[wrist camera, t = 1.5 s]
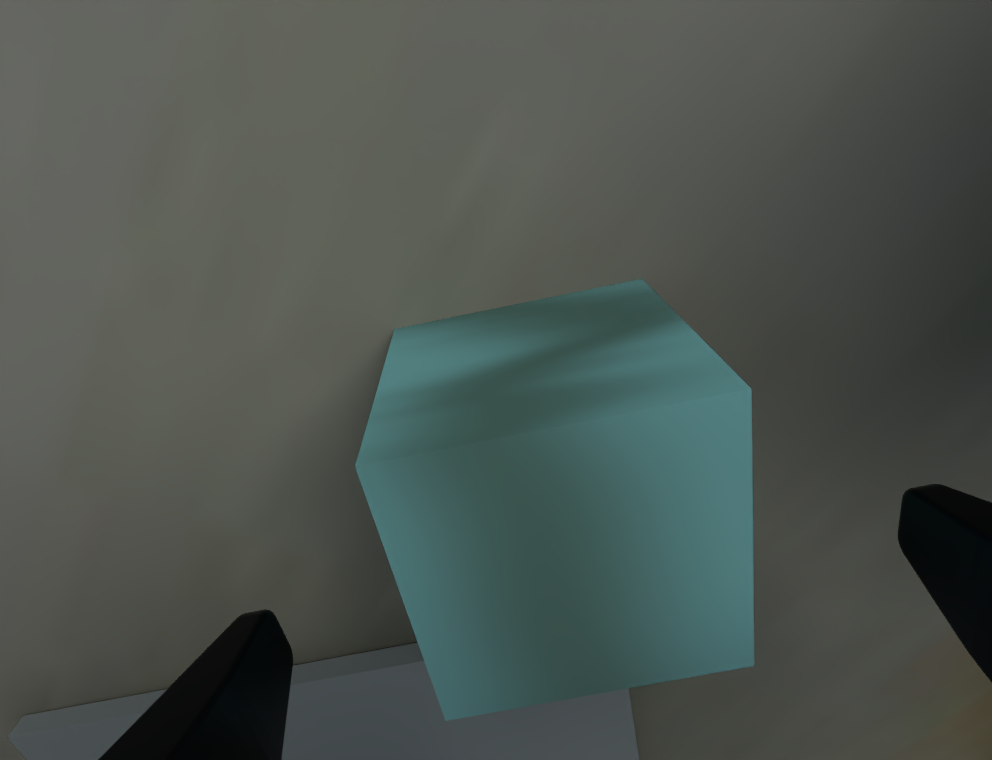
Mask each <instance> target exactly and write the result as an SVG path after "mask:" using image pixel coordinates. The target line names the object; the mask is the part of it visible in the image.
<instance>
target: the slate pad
mask: <svg viewBox="0 0 992 760" xmlns="http://www.w3.org/2000/svg"><path fill="white" fill-rule="evenodd" d="M166 690H167V689H165V690H159V691H154V692H149V693H143V694H138V695H132V696H127V697H122V698H116V699H111V700H105V701H100V702H95V703H89V704H84V705H79V706H73V707H68V708H62V709H57V710H52V711H46V712H41V713H35V714H30V715H25V716H22V717H21V719H20V720H19V722H18V723H17V724H16V726H15V727H14V729H13V730H12V731H11V733H10V734H9V736H8V737H7V738H8V739H9V740H10V742H11V743H12V744H13V745H14V746H15V747H16V748H17V750H18V751H19V752H20V753H21V754H22V755H23V757H24V758H25V759H26V760H98V759H99V758H100V757H101V756H102V755H103V754H104V753H105V752H106V751H107V750H108V749H109V748H110V747H111V746H112V745H113V744H114V743H115V742H116V741H117V740H118V739H119V738H120V737H121V736H122V735H123V734H124V733H125V732H126V731H127V730H128V729H129V728H130V727H131V726H132V725H133V724H134V722H135V721H136V720H137V719H138V718H139V717H140V716H141V715H142V714H143V713H144V712H145V711H146V710H147V709H148V708H149V707H150V706H151V705H152V704H153V703H154V702H155V701H156V700H157V699H158V698H159V697H160V696H161V695H162V694H163V693H164V692H165V691H166ZM282 760H639V754H638V747H637V741H636V734H635V727H634V720H633V713H632V706H631V700H630V693H629V688H627V689H622V690H616V691H611V692H605V693H599V694H594V695H588V696H583V697H577V698H571V699H566V700H560V701H555V702H549V703H544V704H538V705H532V706H527V707H521V708H516V709H510V710H504V711H499V712H493V713H488V714H482V715H476V716H471V717H465V718H460V719H454V720H449V721H445V718H444V715H443V712H442V709H441V707H440V704H439V701H438V698H437V695H436V693H435V690H434V687H433V684H432V681H431V678H430V676H429V673H428V670H427V667H426V664H425V662H424V659H423V656H422V653H421V650H420V648H419V645H418V643H413V644H407V645H402V646H397V647H391V648H386V649H380V650H375V651H370V652H364V653H359V654H353V655H348V656H343V657H337V658H332V659H326V660H321V661H316V662H310V663H305V664H300V665H294V666H293V669H292V677H291V686H290V694H289V702H288V711H287V719H286V727H285V736H284V744H283V752H282Z"/></svg>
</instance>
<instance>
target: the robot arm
mask: <svg viewBox="0 0 992 760" xmlns="http://www.w3.org/2000/svg"><path fill="white" fill-rule="evenodd" d="M898 541H899V544H900V547H901V549H902V552H903V553H904V555H905V557H906V558H907V560H908V561H909V563H910V564H911V566H912V567H913V569H914V570H915V572H916V573H917V575H918V577H919V578H920V580H921V581H922V583H923V584H924V586H925V587H926V589H927V590H928V592H929V593H930V595H931V596H932V598H933V600H934V601H935V603H936V604H937V606H938V607H939V609H940V610H941V612H942V613H943V615H944V616H945V618H946V619H947V621H948V623H949V624H950V626H951V627H952V629H953V630H954V632H955V633H956V635H957V636H958V638H959V639H960V641H961V642H962V644H963V645H964V646H965V648H966V649H967V651H968V652H969V654H970V655H971V656H972V658H973V659H974V660H975V662H976V663H977V664H978V665H979V667H980V668H981V669H982V671H983V672H984V673H985V675H986V676H987V677H988V678H989V680H990V681H991V682H992V503H991V502H988V501H985V500H982V499H980V498H977V497H974V496H971V495H969V494H966V493H963V492H960V491H958V490H955V489H952V488H949V487H947V486H944V485H940V484H931V485H926V486H920V487H915V488H910V489H908V490H906V492H905V493H904V494H903V497H902V504H901V512H900V520H899V528H898ZM292 669H293V654H292V650H291V647H290V644H289V642H288V640H287V638H286V636H285V634H284V632H283V630H282V628H281V626H280V624H279V622H278V620H277V618H276V616H275V615H274V613H273V612H272V611H270V610H260V611H255V612H249V613H245V614H242V615H240V616H239V617H238V618H237V619H236V620H235V621H234V622H233V623H232V624H231V625H230V626H229V627H228V628H227V629H226V630H225V631H224V632H223V633H222V634H221V635H220V636H219V637H218V638H217V639H216V640H215V641H214V642H213V643H212V644H211V645H210V646H209V647H208V648H207V649H206V650H205V651H204V652H203V653H202V654H201V655H200V656H199V657H198V658H197V659H196V660H195V661H194V662H193V663H192V664H191V665H190V666H189V667H188V668H187V670H186V671H185V672H184V673H183V674H182V675H181V676H180V677H179V678H178V679H177V680H176V681H175V682H174V683H173V684H172V685H171V686H170V687H169V688H168V689H167V690H166V691H165V692H164V693H163V694H162V695H161V696H160V697H159V698H158V699H157V700H156V701H155V702H154V703H153V704H152V705H151V706H150V707H149V708H148V709H147V710H146V711H145V712H144V713H143V714H142V715H141V716H140V717H139V718H138V719H137V720H136V721H135V722H134V724H133V725H132V726H131V727H130V728H129V729H128V730H127V731H126V732H125V733H124V734H123V735H122V736H121V737H120V738H119V739H118V740H117V741H116V742H115V743H114V744H113V745H112V746H111V747H110V748H109V749H108V750H107V751H106V752H105V753H104V754H103V755H102V756H101V757H100V758H99V759H98V760H282V752H283V744H284V736H285V727H286V719H287V711H288V702H289V694H290V686H291V677H292Z"/></svg>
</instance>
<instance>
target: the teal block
mask: <svg viewBox="0 0 992 760" xmlns="http://www.w3.org/2000/svg"><path fill="white" fill-rule="evenodd" d="M355 468H356V471H357V474H358V476H359V479H360V482H361V485H362V488H363V490H364V493H365V496H366V499H367V502H368V504H369V507H370V510H371V513H372V516H373V519H374V521H375V524H376V527H377V530H378V533H379V535H380V538H381V541H382V544H383V547H384V549H385V552H386V555H387V558H388V561H389V563H390V566H391V569H392V572H393V575H394V577H395V580H396V583H397V586H398V589H399V591H400V594H401V597H402V600H403V603H404V606H405V608H406V611H407V614H408V617H409V620H410V622H411V625H412V628H413V631H414V634H415V636H416V639H417V642H418V645H419V648H420V650H421V653H422V656H423V659H424V662H425V664H426V667H427V670H428V673H429V676H430V678H431V681H432V684H433V687H434V690H435V693H436V695H437V698H438V701H439V704H440V707H441V709H442V712H443V715H444V718H445V721H449V720H454V719H460V718H465V717H471V716H476V715H482V714H488V713H493V712H499V711H504V710H510V709H516V708H521V707H527V706H532V705H538V704H544V703H549V702H555V701H560V700H566V699H571V698H577V697H583V696H588V695H594V694H599V693H605V692H611V691H616V690H622V689H627V688H633V687H639V686H644V685H650V684H655V683H661V682H666V681H672V680H678V679H683V678H689V677H694V676H700V675H706V674H711V673H717V672H722V671H728V670H734V669H739V668H745V667H750V666H754V585H753V481H752V389H751V388H750V387H749V386H748V385H747V384H746V383H745V382H744V381H743V380H742V379H741V378H740V377H739V376H738V375H737V374H736V373H735V372H734V371H733V370H732V369H731V368H730V367H729V366H728V365H727V364H726V363H725V362H724V361H723V360H722V359H721V358H720V357H719V356H718V355H717V354H716V353H715V352H714V351H713V350H712V349H711V348H710V347H709V346H708V345H707V344H706V343H705V341H704V340H703V339H702V338H701V337H700V336H699V335H698V334H697V333H696V332H695V331H694V330H693V329H692V328H691V327H690V326H689V325H688V324H687V323H686V322H685V321H684V320H683V319H682V318H681V317H680V316H679V315H678V314H677V313H676V312H675V311H674V310H673V309H672V308H671V307H670V306H669V305H668V304H667V303H666V302H665V301H664V300H663V299H662V298H661V297H660V296H659V295H658V294H657V293H656V292H655V291H654V290H653V289H652V288H651V287H650V286H649V285H648V284H647V283H646V282H645V281H644V280H643V279H638V280H633V281H628V282H623V283H618V284H613V285H608V286H604V287H599V288H594V289H589V290H584V291H579V292H574V293H569V294H564V295H559V296H555V297H550V298H545V299H540V300H535V301H530V302H525V303H520V304H515V305H510V306H506V307H501V308H496V309H491V310H486V311H481V312H476V313H471V314H466V315H461V316H457V317H452V318H447V319H442V320H437V321H432V322H427V323H422V324H417V325H412V326H407V327H403V328H398V329H394V333H393V336H392V340H391V343H390V347H389V350H388V354H387V357H386V360H385V364H384V367H383V371H382V374H381V378H380V381H379V385H378V388H377V392H376V395H375V399H374V402H373V406H372V409H371V413H370V416H369V420H368V423H367V426H366V430H365V433H364V437H363V440H362V444H361V447H360V451H359V454H358V458H357V461H356V465H355Z"/></svg>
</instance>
